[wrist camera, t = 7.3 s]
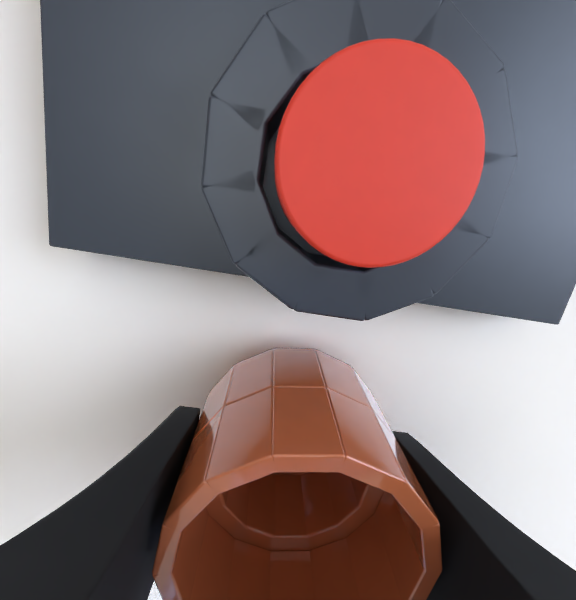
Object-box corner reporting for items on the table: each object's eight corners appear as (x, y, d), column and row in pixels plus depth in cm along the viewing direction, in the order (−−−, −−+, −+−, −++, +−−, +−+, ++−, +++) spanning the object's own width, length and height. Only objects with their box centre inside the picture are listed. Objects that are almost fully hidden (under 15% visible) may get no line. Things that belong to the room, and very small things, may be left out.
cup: (228, 495, 12) (198, 684, 7) (186, 356, 10) (111, 484, 6) (378, 468, 12) (448, 643, 7) (360, 324, 10) (434, 425, 6)
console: (516, 314, 11) (615, 359, 8) (84, 247, 10) (-8, 267, 7) (668, -82, 8) (929, -273, 5) (81, -246, 7) (-88, -640, 4)
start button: (411, 265, 8) (450, 282, 6) (263, 241, 7) (260, 251, 6) (458, 98, 7) (519, 62, 5) (289, 63, 6) (294, 10, 5)
